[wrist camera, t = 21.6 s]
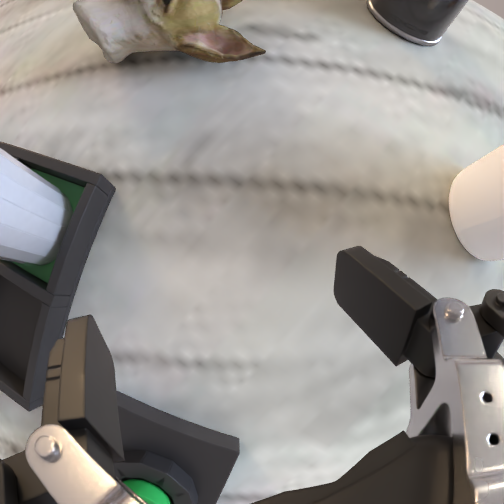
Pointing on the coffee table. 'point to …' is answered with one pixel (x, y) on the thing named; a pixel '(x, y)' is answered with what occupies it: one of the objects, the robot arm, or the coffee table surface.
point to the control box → (173, 453)
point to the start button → (148, 491)
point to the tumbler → (30, 214)
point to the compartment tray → (46, 280)
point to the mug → (480, 206)
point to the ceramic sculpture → (163, 28)
